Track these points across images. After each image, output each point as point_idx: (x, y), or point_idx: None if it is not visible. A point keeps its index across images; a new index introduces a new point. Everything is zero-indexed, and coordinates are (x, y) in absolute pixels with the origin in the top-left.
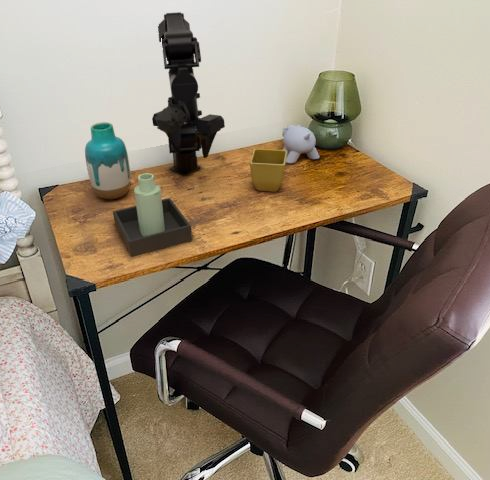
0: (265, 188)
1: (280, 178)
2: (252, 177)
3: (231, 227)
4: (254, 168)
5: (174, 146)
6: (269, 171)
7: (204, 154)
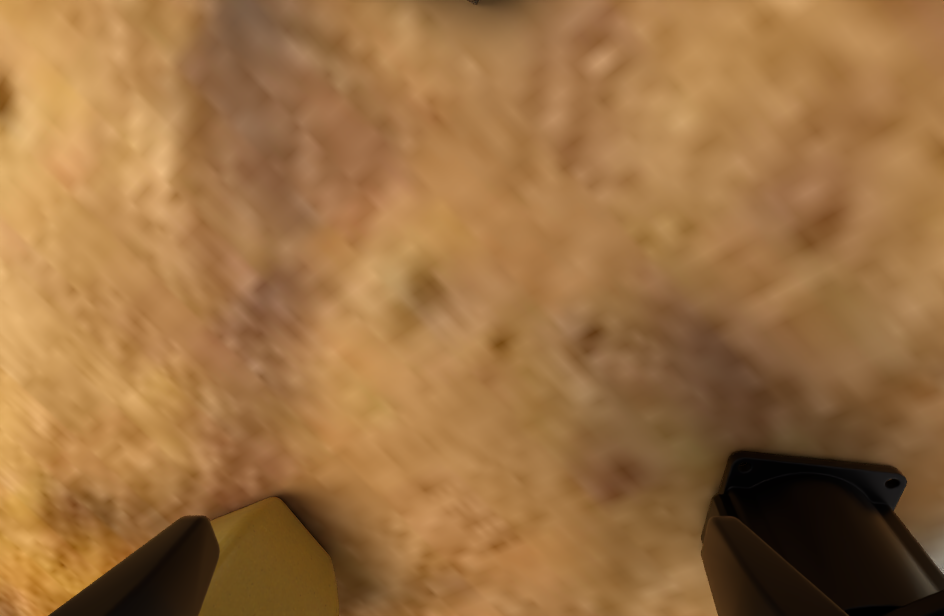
0: (229, 515)
1: None
2: (220, 543)
3: (63, 130)
4: None
5: (784, 602)
6: None
7: (128, 557)
